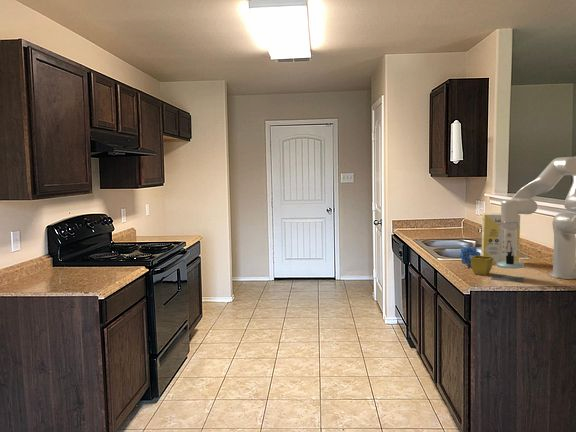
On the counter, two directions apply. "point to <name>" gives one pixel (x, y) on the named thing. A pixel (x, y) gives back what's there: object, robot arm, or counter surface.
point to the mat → (507, 278)
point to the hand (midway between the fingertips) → (510, 262)
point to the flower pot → (481, 264)
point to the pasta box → (496, 238)
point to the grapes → (468, 255)
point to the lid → (510, 266)
